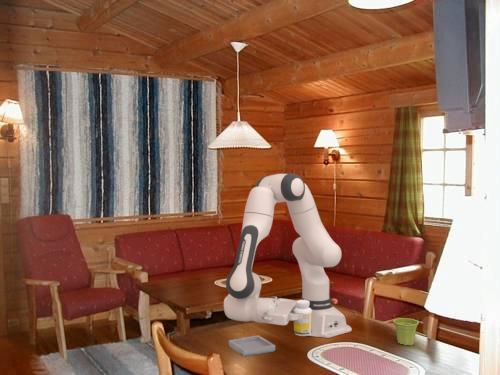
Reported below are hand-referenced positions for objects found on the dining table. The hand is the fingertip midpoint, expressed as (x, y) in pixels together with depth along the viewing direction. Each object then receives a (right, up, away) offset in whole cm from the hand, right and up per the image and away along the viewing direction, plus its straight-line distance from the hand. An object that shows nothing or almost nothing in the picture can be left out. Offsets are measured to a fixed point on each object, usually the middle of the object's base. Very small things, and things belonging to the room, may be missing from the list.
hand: (305, 313), depth 191 cm
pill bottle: (-1, -7, +1) cm, 8 cm away
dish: (-19, -16, +13) cm, 28 cm away
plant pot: (+41, -16, +19) cm, 48 cm away
